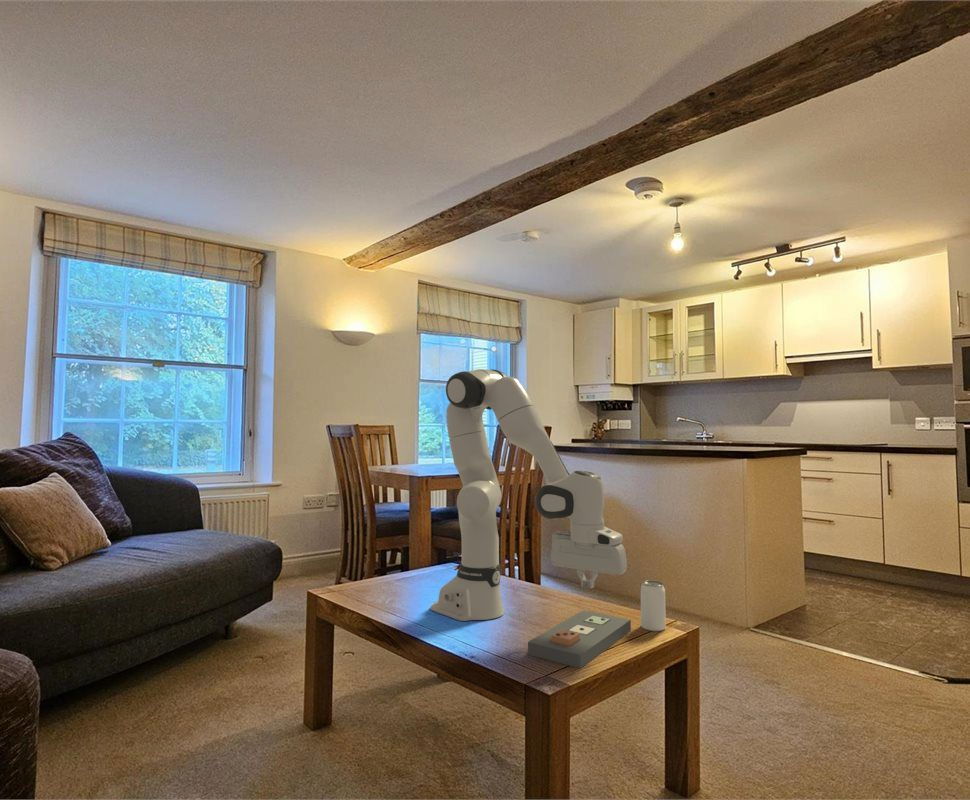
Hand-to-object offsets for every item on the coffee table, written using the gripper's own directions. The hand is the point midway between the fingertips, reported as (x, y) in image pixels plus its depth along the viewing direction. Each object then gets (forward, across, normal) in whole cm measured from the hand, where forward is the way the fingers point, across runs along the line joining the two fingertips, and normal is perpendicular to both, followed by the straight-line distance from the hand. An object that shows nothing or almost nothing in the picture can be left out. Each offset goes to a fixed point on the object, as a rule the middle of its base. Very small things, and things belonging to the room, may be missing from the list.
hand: (587, 587), depth 153 cm
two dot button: (+13, 0, +6) cm, 14 cm away
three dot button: (+12, 0, -12) cm, 17 cm away
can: (+13, +11, +17) cm, 25 cm away
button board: (+13, 0, -3) cm, 14 cm away
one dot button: (+13, 0, -3) cm, 13 cm away
